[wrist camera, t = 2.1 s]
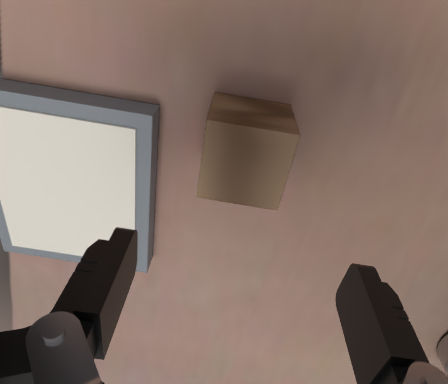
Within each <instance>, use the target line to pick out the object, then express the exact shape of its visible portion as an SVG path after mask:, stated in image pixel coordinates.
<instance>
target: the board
mask: <svg viewBox="0 0 448 384" xmlns="http://www.w3.org/2000/svg"><path fill="white" fill-rule="evenodd" d="M159 111H160V105H155V104H149V103H143V102H137V101H131V100H125V99H119V98H113V97H107V96H101V95H96V94H90V93H84V92H78V91H72V90H66V89H60V88H54V87H48V86H42V85H36V84H31V83H25V82H19V81H13V80H7V79H1V78H0V238H1V242H2V246H3V249H4V251H8V252H14V253H21V254H27V255H34V256H40V257H47V258H53V259H60V260H66V261H73V262H80V261H81V258H82V256H83V255H84V253H85V251H86V249H87V248H88V247H89V246H91V245H92V244H93V243H94V242H96V241H97V240H98V239H102V240H109V239H110V237H111V235H112V233H113V231H114V229H115V228H116V227H120V228H126V229H133V230H137V232H138V247H137V266H136V271H138V272H145V273H147V271H148V268H149V265H150V262H151V260H152V257H153V238H154V217H155V196H156V174H157V153H158V132H159Z"/></svg>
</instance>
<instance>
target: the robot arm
mask: <svg viewBox="0 0 448 384" xmlns="http://www.w3.org/2000/svg"><path fill="white" fill-rule="evenodd" d="M137 247H138V232H137V230H133V229H126V228H120V227H116V228H115V229H114V231H113V233H112V235H111V237H110V239H109V240H102V239H98V240H97V241H96V242H94V243H93V244H92V245H91V246H89V247H88V248H87V249H86V251H85V253H84V255H83V256H82V258H81V261H80V262H79V263H78V265H77V267H76V269H75V272H73V274H72V276H71V278H70V279H69V281H68V283H67V285H66V286H65V288H64V290H63V292H62V293H61V295H60V297H59V299H58V301H57V302H56V304H55V306H54V308H53V309H52V311H51V312H50V313H49V314H47V315H45V316H43V317H41V318H39V319H38V320H37V321H36V322H35V323H34V324H33V325H31V326H29V327H26V328H22V329H17V330H11V331H4V332H0V384H104V382H102V381H101V379H100V376H99V373H98V370H97V368H96V365H95V362H94V358H95V359H103V360H104V358H105V355H106V352H107V350H108V347H109V344H110V341H111V339H112V336H113V333H114V330H115V328H116V325H117V322H118V319H119V317H120V314H121V311H122V308H123V305H124V303H125V300H126V297H127V294H128V292H129V289H130V286H131V283H132V281H133V278H134V275H135V271H136V266H137ZM336 307H337V311H338V315H339V318H340V322H341V326H342V329H343V333H344V337H345V341H346V344H347V348H348V352H349V355H350V359H351V363H352V366H353V370H354V374H355V378H356V381H357V384H448V377H447V376H448V334H447V335H446V336H445V337H444V338H443V339H442V340H441V341H440V343H439V344H438V348H437V355H438V357H439V359H440V361H441V363H442V365H443V367H444V370H445V372H446V374H447V375H446V374H444V373H443V372H442V371H441V370H440V369H438V368H437V367H435V366H433V365H431V364H430V363H429V361H428V359H427V357H426V355H425V353H424V351H423V348H422V346H421V344H420V342H419V340H418V338H417V336H416V333H415V331H414V329H413V327H412V325H411V323H410V321H408V319H409V318H408V316H407V314H406V312H405V311H404V310H403V306H402V303H401V301H400V299H399V297H398V295H397V294H396V293H395V292H394V290H393V289H392V288H391V287H390V286H389V285H388V284H387V283H385V282H381V279H380V277H379V275H378V273H377V270H376V269H375V268H374V267H373V266H366V265H360V264H351V265H350V267H349V268H348V270H347V272H346V274H345V276H344V278H343V280H342V282H341V284H340V286H339V288H338V290H337V293H336Z"/></svg>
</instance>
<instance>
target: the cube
mask: <svg viewBox="0 0 448 384" xmlns="http://www.w3.org/2000/svg"><path fill="white" fill-rule="evenodd" d="M299 138H300V133H299V130H298V127H297V124H296V121H295V117H294V114H293V111H292V108H291V105H289V104H283V103H277V102H271V101H265V100H259V99H254V98H248V97H242V96H236V95H230V94H225V93H219V92H215V93H214V96H213V100H212V103H211V106H210V110H209V113H208V117H207V121H206V128H205V136H204V144H203V151H202V159H201V167H200V174H199V182H198V190H197V198H204V199H210V200H216V201H222V202H228V203H234V204H240V205H247V206H253V207H259V208H265V209H271V210H277V211H278V207H279V204H280V201H281V197H282V194H283V191H284V188H285V184H286V181H287V178H288V174H289V171H290V168H291V164H292V161H293V158H294V154H295V151H296V148H297V144H298V141H299Z"/></svg>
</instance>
